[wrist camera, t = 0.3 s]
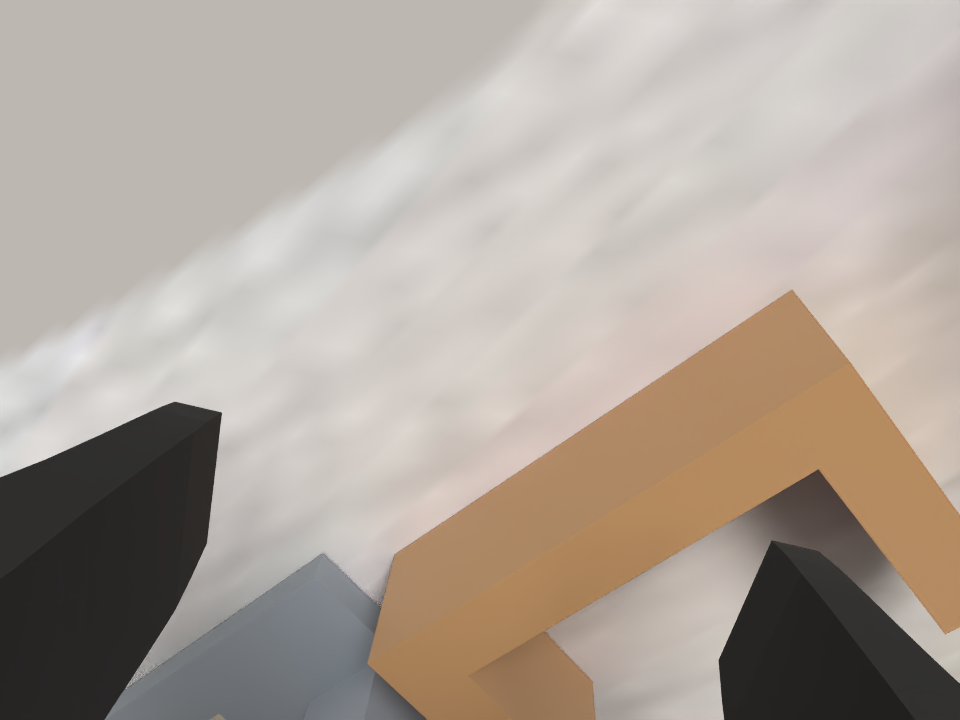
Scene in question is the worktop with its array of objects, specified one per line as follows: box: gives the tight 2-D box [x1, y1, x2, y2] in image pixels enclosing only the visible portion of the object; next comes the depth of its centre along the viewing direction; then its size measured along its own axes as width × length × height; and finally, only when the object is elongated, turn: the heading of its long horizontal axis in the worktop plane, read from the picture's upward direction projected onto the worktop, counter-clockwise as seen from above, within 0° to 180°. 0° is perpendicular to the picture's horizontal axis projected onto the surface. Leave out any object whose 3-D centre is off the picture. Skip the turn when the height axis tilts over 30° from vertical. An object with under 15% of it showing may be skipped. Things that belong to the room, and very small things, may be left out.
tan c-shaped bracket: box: [367, 290, 960, 720], centre depth 20 cm, size 7×12×4 cm, turn 129°
